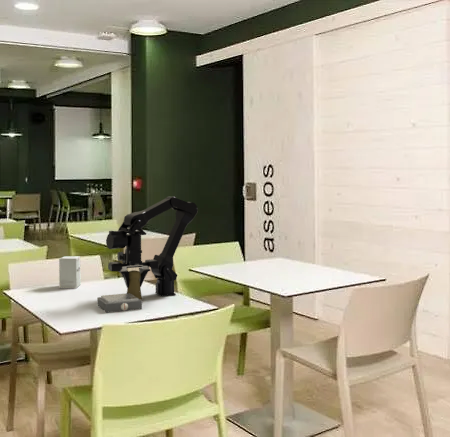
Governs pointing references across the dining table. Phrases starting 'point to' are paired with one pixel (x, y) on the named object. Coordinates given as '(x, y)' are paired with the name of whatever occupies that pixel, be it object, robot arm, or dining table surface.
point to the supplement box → (69, 272)
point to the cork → (134, 284)
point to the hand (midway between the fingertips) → (133, 287)
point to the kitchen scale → (119, 302)
